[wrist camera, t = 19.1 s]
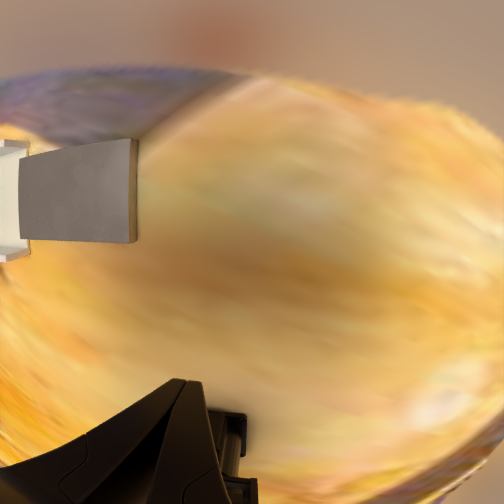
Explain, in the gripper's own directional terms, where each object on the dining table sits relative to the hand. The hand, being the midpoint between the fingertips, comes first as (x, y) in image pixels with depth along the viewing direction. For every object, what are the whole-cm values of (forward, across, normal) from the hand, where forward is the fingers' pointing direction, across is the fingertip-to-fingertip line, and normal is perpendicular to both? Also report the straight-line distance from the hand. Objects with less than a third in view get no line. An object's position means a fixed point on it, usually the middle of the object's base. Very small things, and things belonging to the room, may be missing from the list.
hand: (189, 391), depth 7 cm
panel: (+12, +13, -5) cm, 18 cm away
